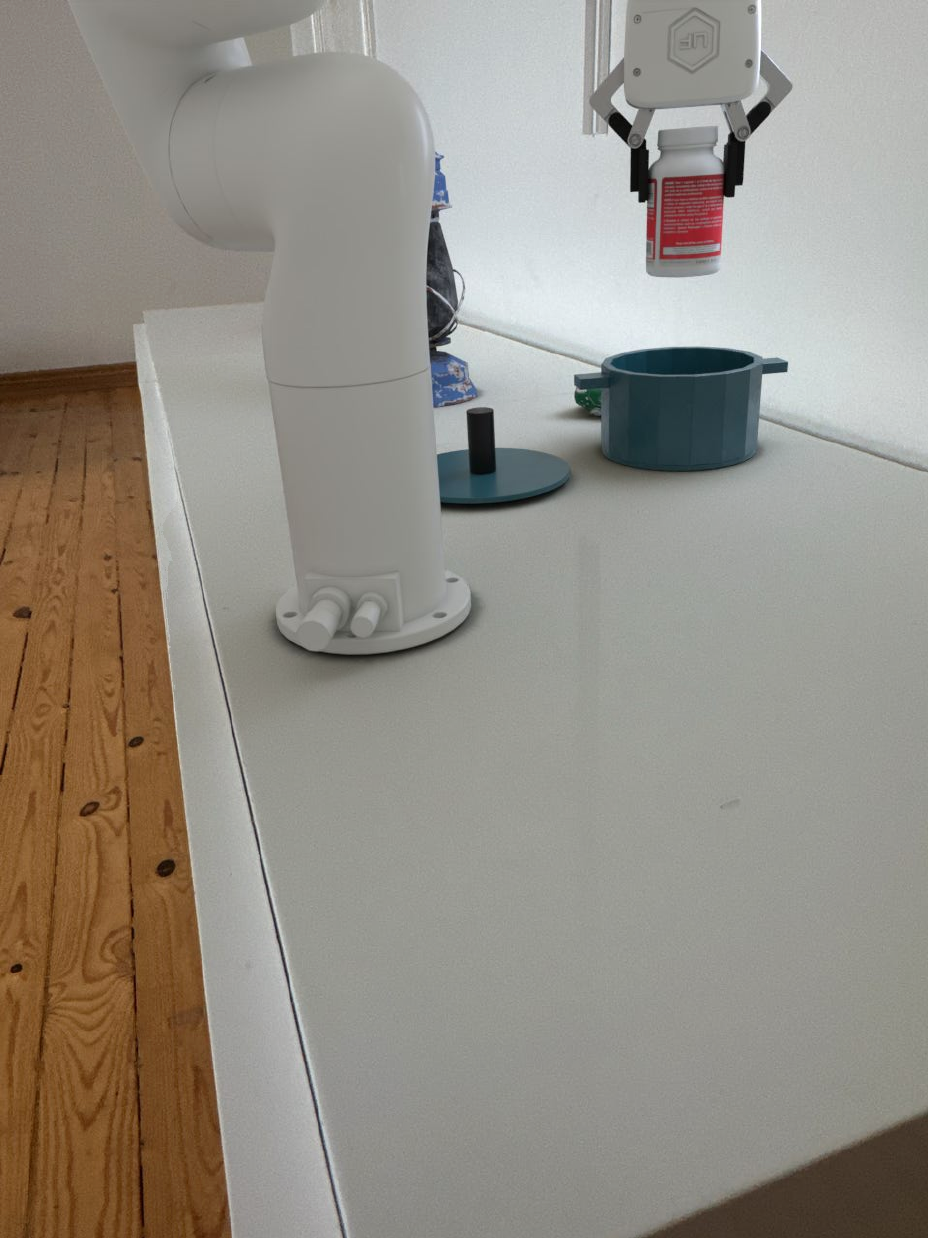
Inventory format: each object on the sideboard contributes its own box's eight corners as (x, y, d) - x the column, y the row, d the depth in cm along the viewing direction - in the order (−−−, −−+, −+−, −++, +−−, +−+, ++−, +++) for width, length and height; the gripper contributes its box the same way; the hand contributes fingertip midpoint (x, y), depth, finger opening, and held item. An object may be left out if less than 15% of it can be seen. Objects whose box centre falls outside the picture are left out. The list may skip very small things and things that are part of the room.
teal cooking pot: (810, 459, 88) (819, 365, 85) (597, 480, 86) (597, 384, 83) (747, 422, 101) (752, 339, 98) (560, 439, 99) (559, 355, 96)
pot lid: (588, 500, 81) (588, 422, 79) (404, 518, 80) (398, 439, 77) (549, 452, 95) (548, 385, 93) (392, 467, 94) (386, 399, 91)
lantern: (477, 407, 115) (462, 124, 102) (375, 413, 115) (347, 132, 103) (477, 381, 129) (464, 130, 116) (385, 386, 129) (362, 136, 117)
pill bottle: (735, 272, 81) (744, 123, 76) (682, 280, 78) (688, 126, 73) (682, 268, 85) (687, 128, 81) (630, 275, 83) (632, 131, 78)
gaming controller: (577, 425, 111) (563, 397, 106) (586, 397, 112) (572, 367, 107) (655, 431, 107) (644, 401, 102) (663, 401, 108) (652, 370, 103)
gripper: (575, -64, 69) (577, 207, 77) (826, -89, 67) (803, 194, 75) (578, -45, 76) (580, 203, 84) (806, -67, 74) (787, 191, 81)
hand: (685, 196), depth 79 cm, fingers closed on pill bottle, 6 cm apart
